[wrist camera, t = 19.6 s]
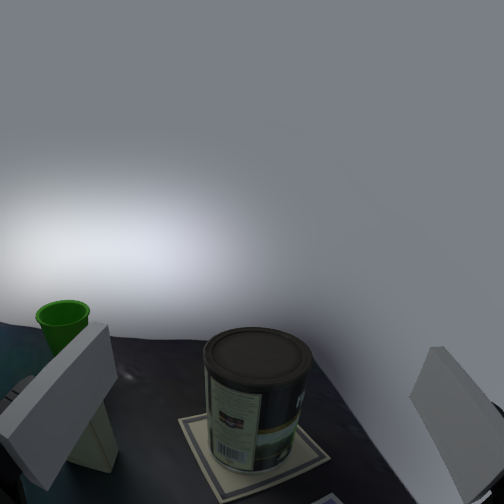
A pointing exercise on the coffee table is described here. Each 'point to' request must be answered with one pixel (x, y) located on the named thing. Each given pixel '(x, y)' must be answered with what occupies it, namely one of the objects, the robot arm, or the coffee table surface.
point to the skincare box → (96, 443)
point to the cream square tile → (242, 485)
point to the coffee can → (254, 396)
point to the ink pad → (328, 500)
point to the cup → (62, 322)
